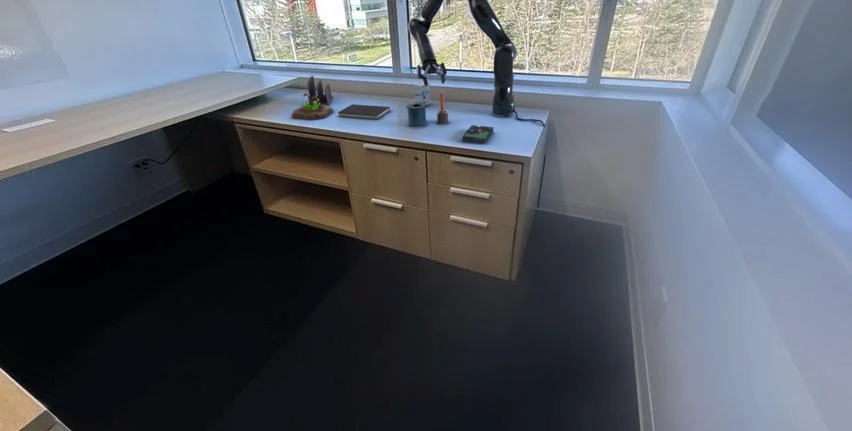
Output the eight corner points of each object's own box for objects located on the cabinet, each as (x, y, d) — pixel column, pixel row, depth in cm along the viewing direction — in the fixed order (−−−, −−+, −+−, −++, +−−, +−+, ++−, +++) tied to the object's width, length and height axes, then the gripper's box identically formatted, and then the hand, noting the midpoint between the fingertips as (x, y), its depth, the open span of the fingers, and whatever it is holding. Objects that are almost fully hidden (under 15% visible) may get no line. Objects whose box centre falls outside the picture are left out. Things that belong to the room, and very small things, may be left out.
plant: (304, 108, 216) (300, 88, 211) (336, 109, 213) (333, 88, 207) (287, 119, 200) (282, 98, 194) (321, 120, 196) (317, 98, 190)
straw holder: (450, 122, 185) (450, 111, 182) (444, 125, 182) (443, 114, 179) (441, 120, 188) (441, 109, 185) (435, 123, 184) (435, 112, 182)
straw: (445, 121, 185) (444, 92, 177) (443, 122, 184) (442, 93, 176) (442, 121, 186) (441, 92, 178) (440, 122, 184) (439, 93, 177)
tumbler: (429, 123, 185) (429, 105, 180) (419, 129, 179) (418, 110, 174) (416, 121, 189) (415, 103, 184) (405, 126, 183) (403, 107, 178)
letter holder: (311, 106, 219) (306, 81, 212) (315, 97, 236) (311, 74, 229) (328, 105, 220) (324, 80, 213) (331, 96, 237) (327, 73, 229)
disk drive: (471, 130, 174) (462, 141, 163) (471, 124, 173) (462, 135, 161) (493, 132, 171) (485, 144, 159) (493, 126, 169) (486, 137, 158)
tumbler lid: (430, 105, 180) (430, 104, 180) (418, 110, 174) (418, 109, 173) (415, 102, 185) (414, 101, 184) (403, 107, 178) (402, 106, 178)
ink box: (422, 107, 208) (421, 85, 202) (414, 106, 211) (413, 84, 204) (430, 103, 214) (429, 82, 208) (423, 102, 217) (422, 81, 210)
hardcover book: (377, 119, 193) (376, 115, 192) (338, 116, 201) (337, 112, 199) (390, 110, 206) (389, 106, 205) (353, 108, 213) (352, 103, 212)
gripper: (414, 51, 182) (422, 80, 179) (442, 48, 185) (450, 77, 182) (412, 61, 189) (419, 89, 186) (438, 58, 192) (447, 86, 189)
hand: (435, 83), depth 184 cm, fingers open, 8 cm apart
